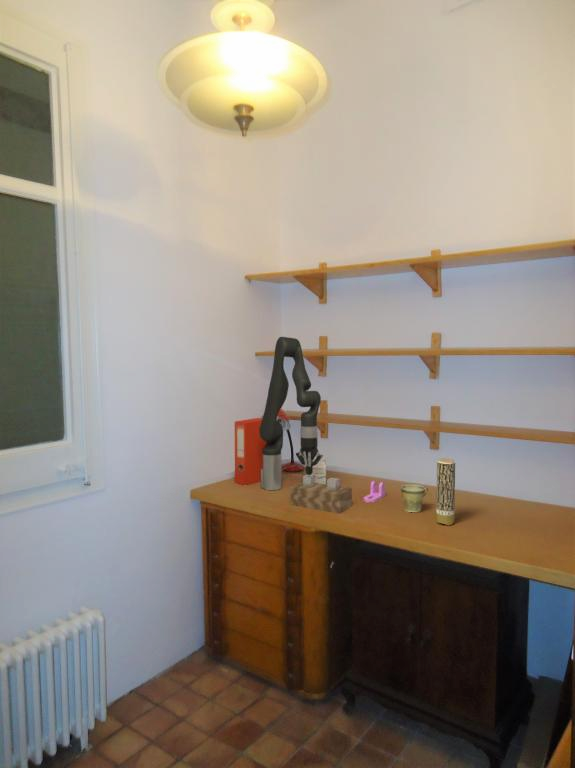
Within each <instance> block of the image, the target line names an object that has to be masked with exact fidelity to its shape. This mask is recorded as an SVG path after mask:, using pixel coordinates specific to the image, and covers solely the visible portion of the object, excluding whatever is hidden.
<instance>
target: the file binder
mask: <svg viewBox="0 0 575 768" xmlns="http://www.w3.org/2000/svg"><path fill="white" fill-rule="evenodd" d="M262 418H263V417H262ZM262 418H261V417H255V418H249V419H243V420H242V419H241V420H236V421H234V483H235V484H236V483H237V485H240V484H241V486H244V485H247V486H250V485H254V484H256V482H257V483H259V481H261V469H262V468H263V456H262V450H263V447H264V446H265V445H266V442H267V441H264V440H262V438H261V437H260V434H259V429H260V425H261V421H262ZM253 483H254V484H253ZM249 484H250V485H249Z"/></svg>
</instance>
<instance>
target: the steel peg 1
mask: <svg viewBox="0 0 575 768" xmlns="http://www.w3.org/2000/svg"><path fill="white" fill-rule="evenodd" d="M302 482H303V487H310V488H312V487H314V486H315V475H307V474H305V475H303V476H302Z"/></svg>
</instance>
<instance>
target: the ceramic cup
mask: <svg viewBox="0 0 575 768" xmlns="http://www.w3.org/2000/svg"><path fill="white" fill-rule="evenodd" d="M400 490H401V497H402V500H403V501H402V503H403V508H404V511H405V510H406V511H408V512H418V511H420V512H421V511H422V505H423V500H424V498H425V496H426V495H427V494H428V493H429V489H428V487H425V486H422V485H419V484H404V485H401V487H400ZM406 511H405V512H406ZM408 512H407V513H408Z"/></svg>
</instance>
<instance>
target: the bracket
mask: <svg viewBox="0 0 575 768" xmlns="http://www.w3.org/2000/svg"><path fill="white" fill-rule="evenodd" d="M370 482H371V483H370V494H367V495H365V496H363V502H364V501H365V503H369V502H372V503H376V502H378V501H379V500H381V499H383V498H384V496H385V497H386V494H385V493H386V484H385V482H383V481H382V482H381V481H380V483H379V485H378V484H377V481H375V480H371V481H370ZM377 486H378V487H377ZM377 488H378V489H377ZM382 497H383V498H382ZM380 498H381V499H380ZM378 499H379V500H378ZM377 500H378V501H377ZM375 501H376V502H375Z"/></svg>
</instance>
